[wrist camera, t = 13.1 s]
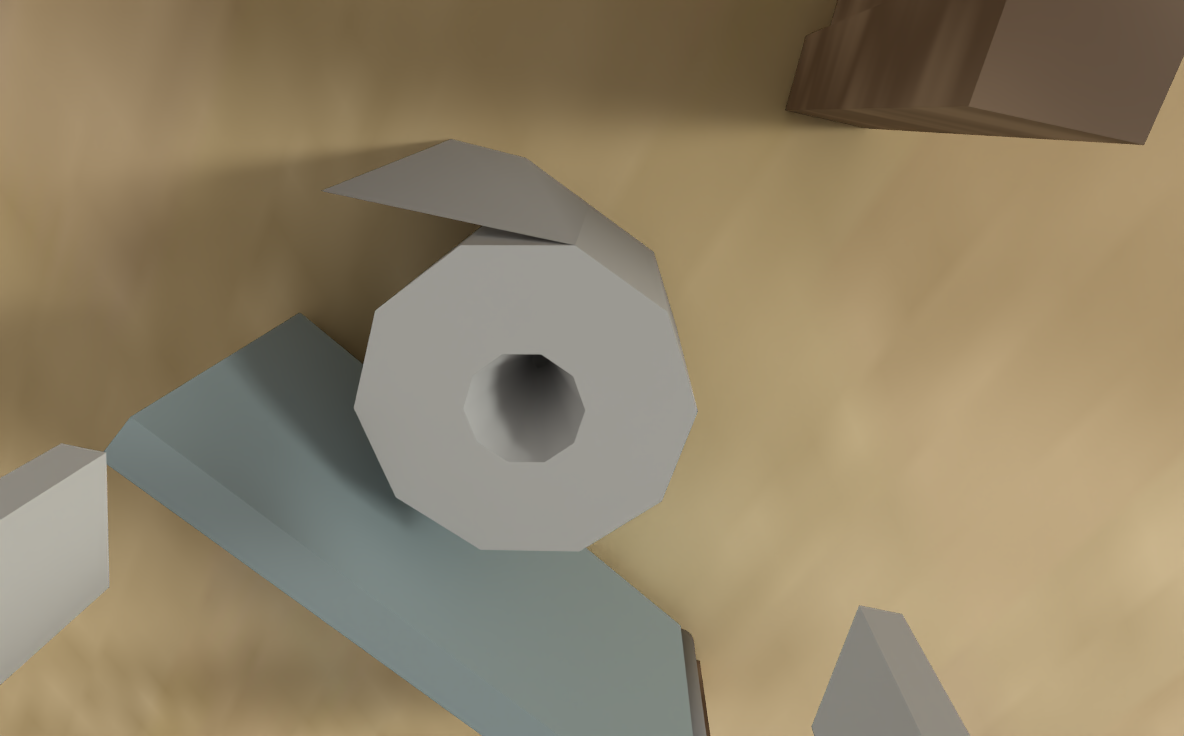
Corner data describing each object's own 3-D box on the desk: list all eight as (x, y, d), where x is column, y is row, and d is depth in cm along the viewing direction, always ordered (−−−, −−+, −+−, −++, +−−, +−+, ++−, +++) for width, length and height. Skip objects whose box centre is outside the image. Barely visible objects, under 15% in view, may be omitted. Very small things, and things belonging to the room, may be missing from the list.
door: (701, 642, 32) (734, 866, 22) (650, 683, 33) (661, 915, 23) (299, 312, 27) (130, 416, 18) (253, 369, 28) (68, 498, 19)
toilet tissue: (425, 84, 25) (332, 70, 17) (722, 302, 27) (764, 382, 19) (305, 288, 28) (175, 360, 20) (584, 472, 30) (570, 605, 22)
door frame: (686, 701, 34) (728, 1078, 21) (624, 689, 34) (625, 1060, 20) (972, -199, 22) (1507, -674, 9) (877, -221, 22) (1270, -738, 9)
